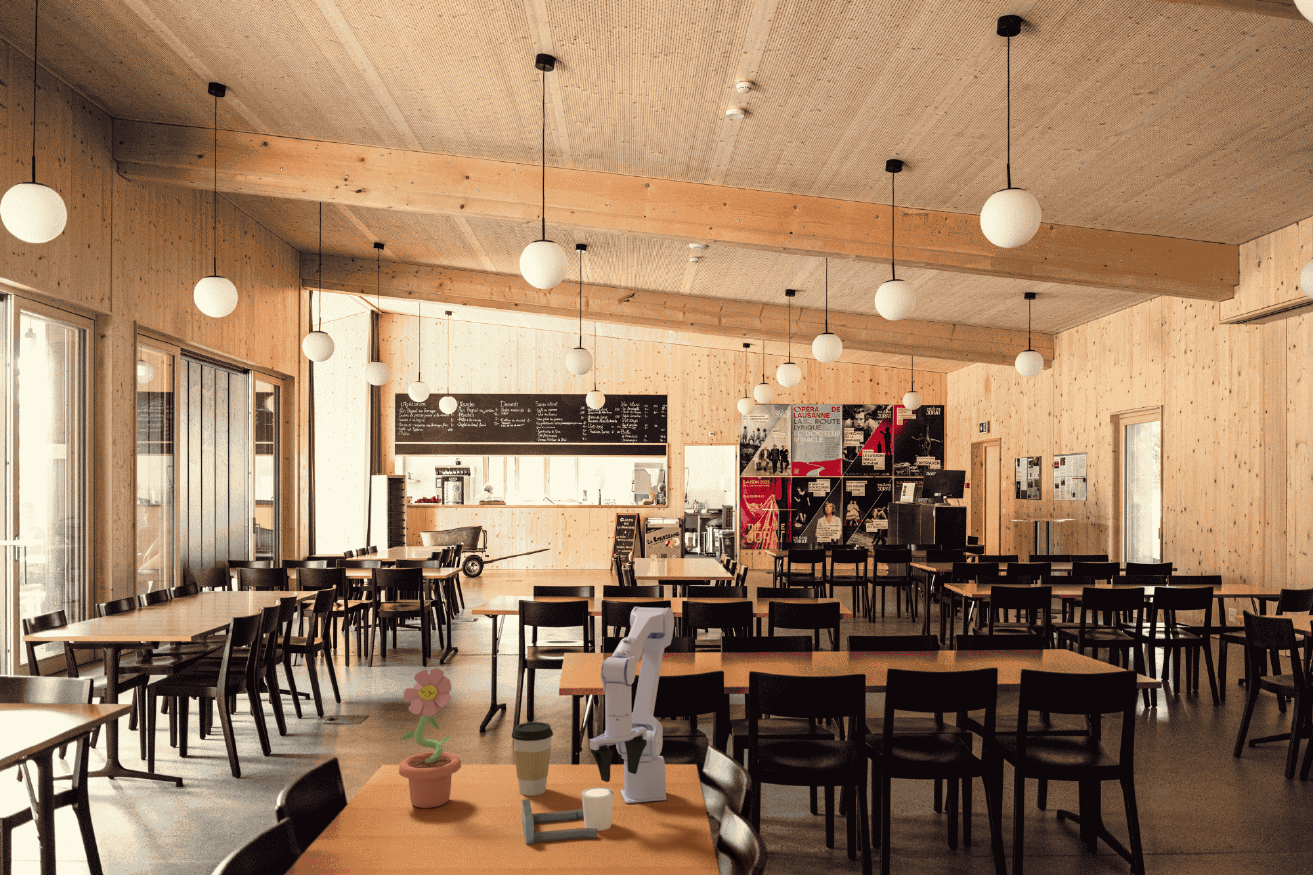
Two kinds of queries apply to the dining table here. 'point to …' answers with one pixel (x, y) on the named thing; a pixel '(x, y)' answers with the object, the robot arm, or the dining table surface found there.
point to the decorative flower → (429, 743)
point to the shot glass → (597, 807)
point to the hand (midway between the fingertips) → (619, 776)
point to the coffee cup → (532, 756)
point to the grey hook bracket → (554, 835)
